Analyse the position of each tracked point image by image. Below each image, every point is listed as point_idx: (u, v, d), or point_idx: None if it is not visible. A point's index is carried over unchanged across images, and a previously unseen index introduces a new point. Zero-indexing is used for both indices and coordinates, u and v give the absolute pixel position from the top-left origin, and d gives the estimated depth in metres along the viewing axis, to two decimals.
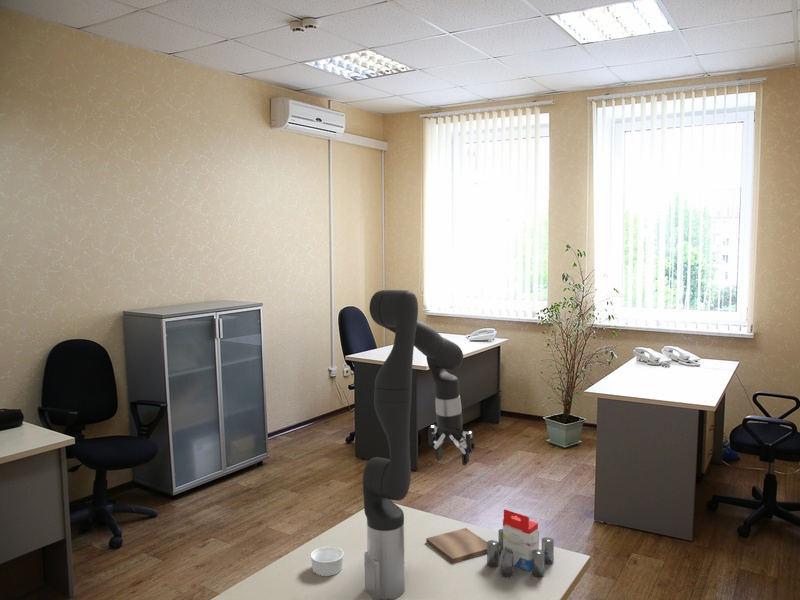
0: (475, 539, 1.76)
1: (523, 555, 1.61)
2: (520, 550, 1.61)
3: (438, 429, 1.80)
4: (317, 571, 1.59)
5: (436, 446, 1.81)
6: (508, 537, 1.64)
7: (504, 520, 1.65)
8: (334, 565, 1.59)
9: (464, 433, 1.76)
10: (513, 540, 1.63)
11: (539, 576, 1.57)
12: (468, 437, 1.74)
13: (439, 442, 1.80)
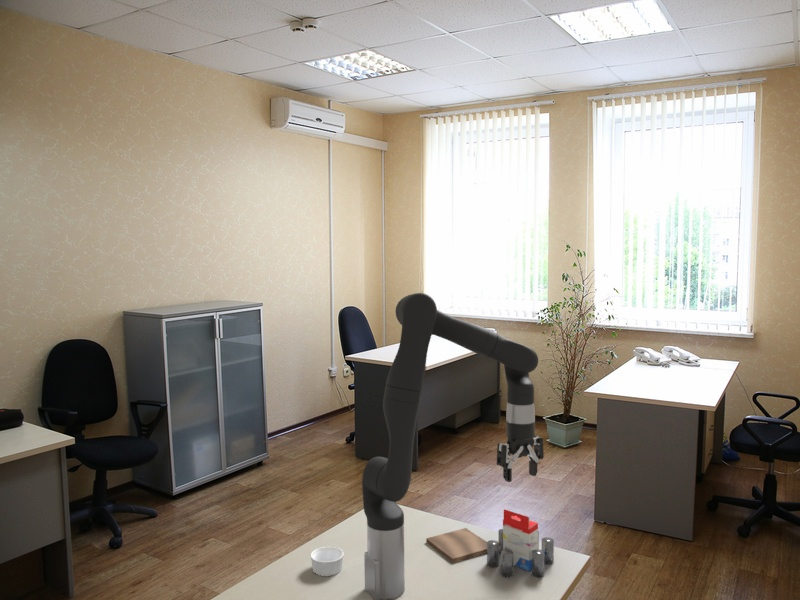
0: (475, 539, 1.76)
1: (523, 555, 1.61)
2: (520, 550, 1.61)
3: None
4: (317, 571, 1.59)
5: None
6: (508, 537, 1.64)
7: (504, 520, 1.65)
8: (334, 565, 1.59)
9: None
10: (513, 540, 1.63)
11: (539, 576, 1.57)
12: None
13: None
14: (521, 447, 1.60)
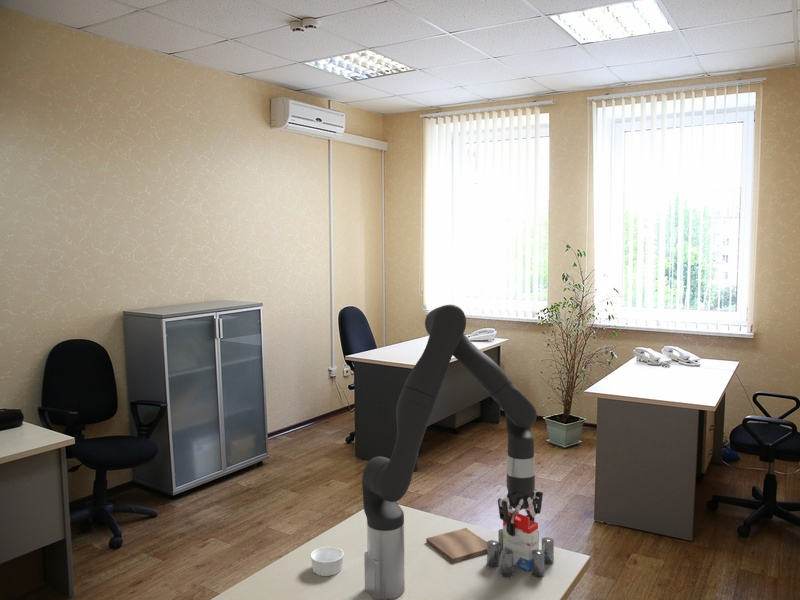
0: (475, 539, 1.76)
1: (523, 555, 1.61)
2: (520, 550, 1.61)
3: None
4: (317, 571, 1.59)
5: None
6: (508, 537, 1.64)
7: None
8: (334, 565, 1.59)
9: None
10: (513, 540, 1.63)
11: (539, 576, 1.57)
12: None
13: None
14: (521, 500, 1.61)
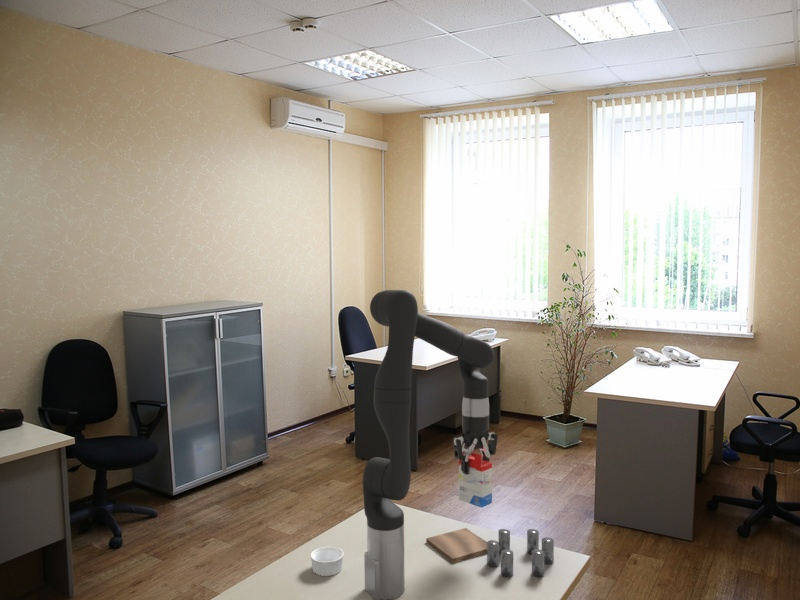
0: (475, 539, 1.76)
1: (476, 493, 1.67)
2: (474, 487, 1.67)
3: None
4: (317, 571, 1.59)
5: None
6: (463, 476, 1.70)
7: (460, 460, 1.71)
8: (334, 565, 1.59)
9: None
10: (468, 479, 1.69)
11: (539, 576, 1.57)
12: None
13: None
14: (475, 439, 1.67)
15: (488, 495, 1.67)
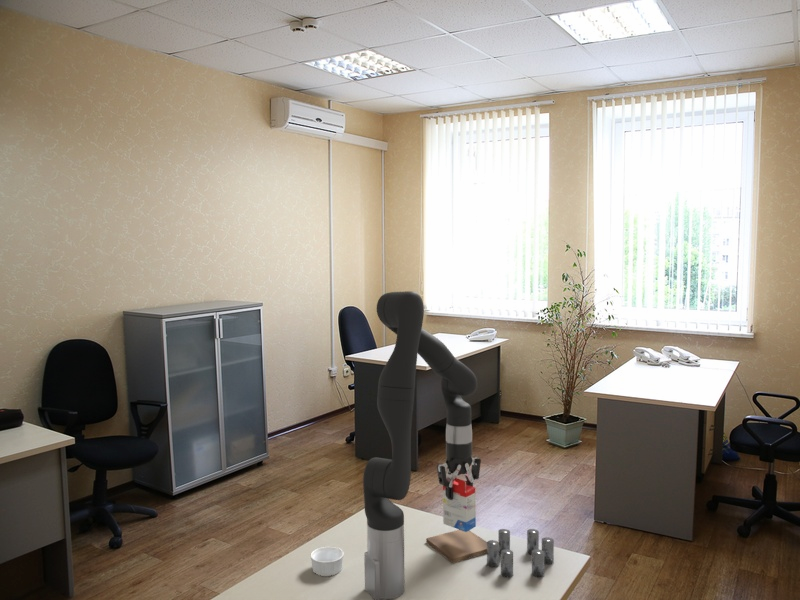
0: (475, 539, 1.76)
1: (460, 517, 1.70)
2: (458, 512, 1.71)
3: None
4: (317, 571, 1.59)
5: None
6: (447, 501, 1.73)
7: None
8: (334, 565, 1.59)
9: None
10: (452, 504, 1.72)
11: (539, 576, 1.57)
12: None
13: None
14: (459, 466, 1.70)
15: (471, 520, 1.71)
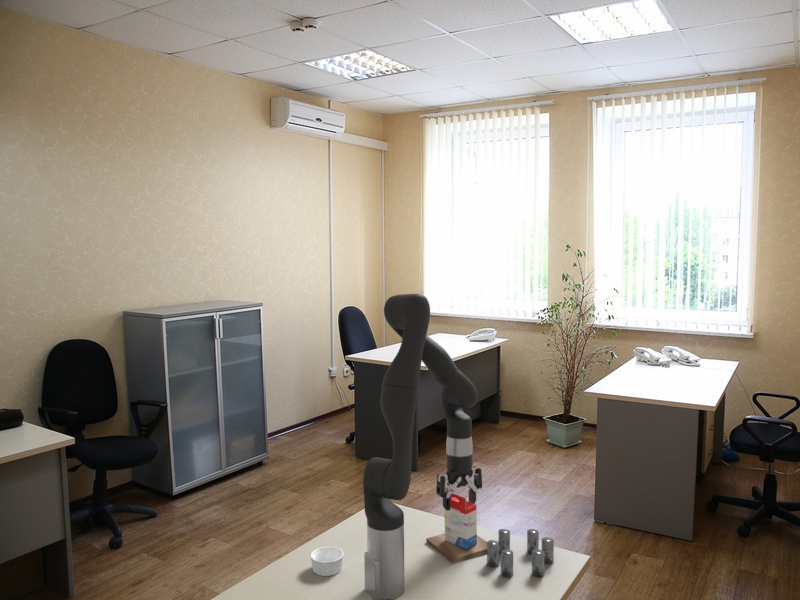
0: None
1: (461, 534, 1.71)
2: (458, 529, 1.71)
3: None
4: (317, 571, 1.59)
5: None
6: (448, 518, 1.74)
7: None
8: (334, 565, 1.59)
9: None
10: (453, 520, 1.73)
11: (539, 576, 1.57)
12: None
13: None
14: (459, 478, 1.71)
15: (472, 537, 1.71)
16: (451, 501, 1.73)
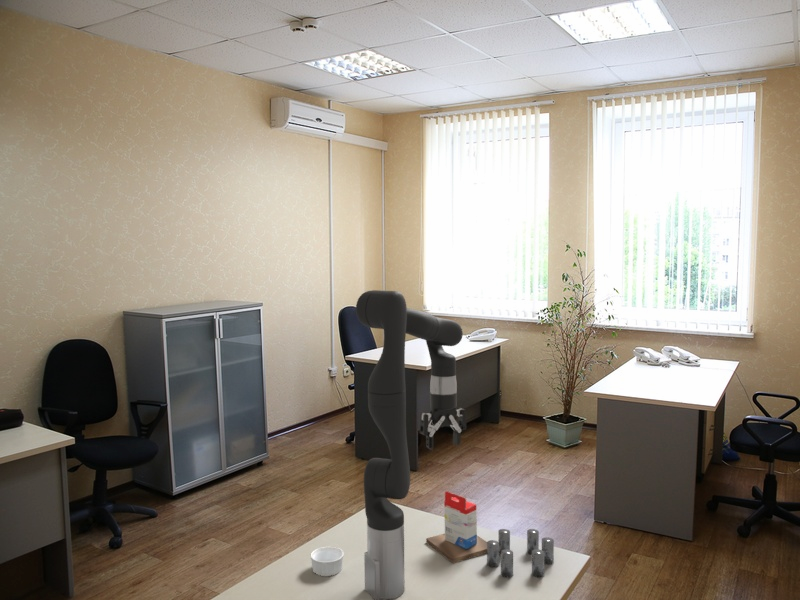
0: None
1: (461, 534, 1.71)
2: (458, 529, 1.71)
3: None
4: (317, 571, 1.59)
5: None
6: (448, 518, 1.74)
7: (445, 501, 1.75)
8: (334, 565, 1.59)
9: None
10: (453, 520, 1.73)
11: (539, 576, 1.57)
12: None
13: None
14: (443, 417, 1.70)
15: (472, 537, 1.71)
16: (451, 501, 1.73)
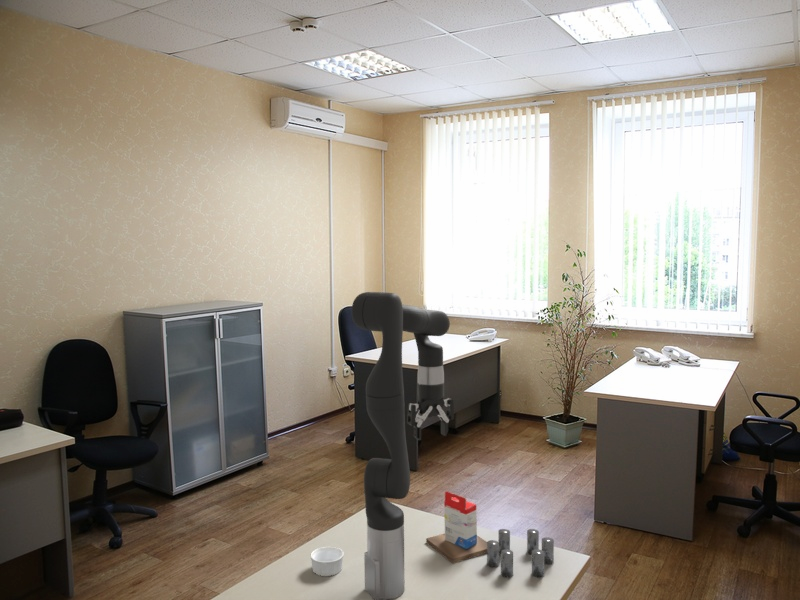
0: None
1: (461, 534, 1.71)
2: (458, 529, 1.71)
3: None
4: (317, 571, 1.59)
5: None
6: (448, 518, 1.74)
7: (445, 501, 1.75)
8: (334, 565, 1.59)
9: None
10: (453, 520, 1.73)
11: (539, 576, 1.57)
12: None
13: None
14: (430, 407, 1.70)
15: (472, 537, 1.71)
16: (451, 501, 1.73)
